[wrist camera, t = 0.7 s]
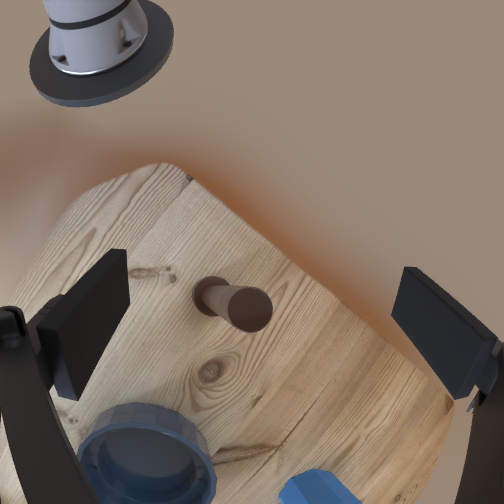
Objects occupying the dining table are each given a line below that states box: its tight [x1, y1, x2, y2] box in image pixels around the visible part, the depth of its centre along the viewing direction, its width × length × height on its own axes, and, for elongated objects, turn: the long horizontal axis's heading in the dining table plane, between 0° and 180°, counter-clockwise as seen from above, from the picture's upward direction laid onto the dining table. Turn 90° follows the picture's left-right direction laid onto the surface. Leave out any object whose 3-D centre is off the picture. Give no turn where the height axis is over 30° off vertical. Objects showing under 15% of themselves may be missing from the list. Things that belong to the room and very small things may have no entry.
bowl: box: [77, 403, 217, 504], centre depth 30 cm, size 16×16×6 cm
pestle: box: [192, 276, 273, 333], centre depth 27 cm, size 4×4×20 cm
